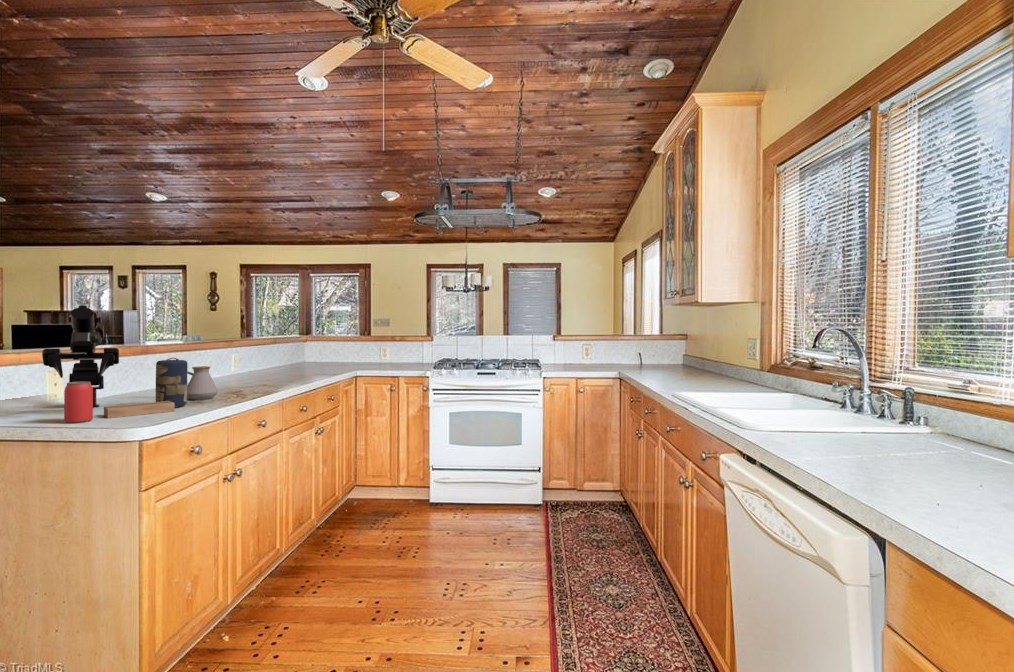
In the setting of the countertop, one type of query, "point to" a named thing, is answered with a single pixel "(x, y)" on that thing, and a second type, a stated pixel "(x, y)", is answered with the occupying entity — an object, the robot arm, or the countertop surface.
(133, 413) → the walnut beam
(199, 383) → the coffee pot
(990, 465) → the countertop surface
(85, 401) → the beer can
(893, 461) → the countertop surface
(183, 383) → the canister
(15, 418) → the countertop surface
